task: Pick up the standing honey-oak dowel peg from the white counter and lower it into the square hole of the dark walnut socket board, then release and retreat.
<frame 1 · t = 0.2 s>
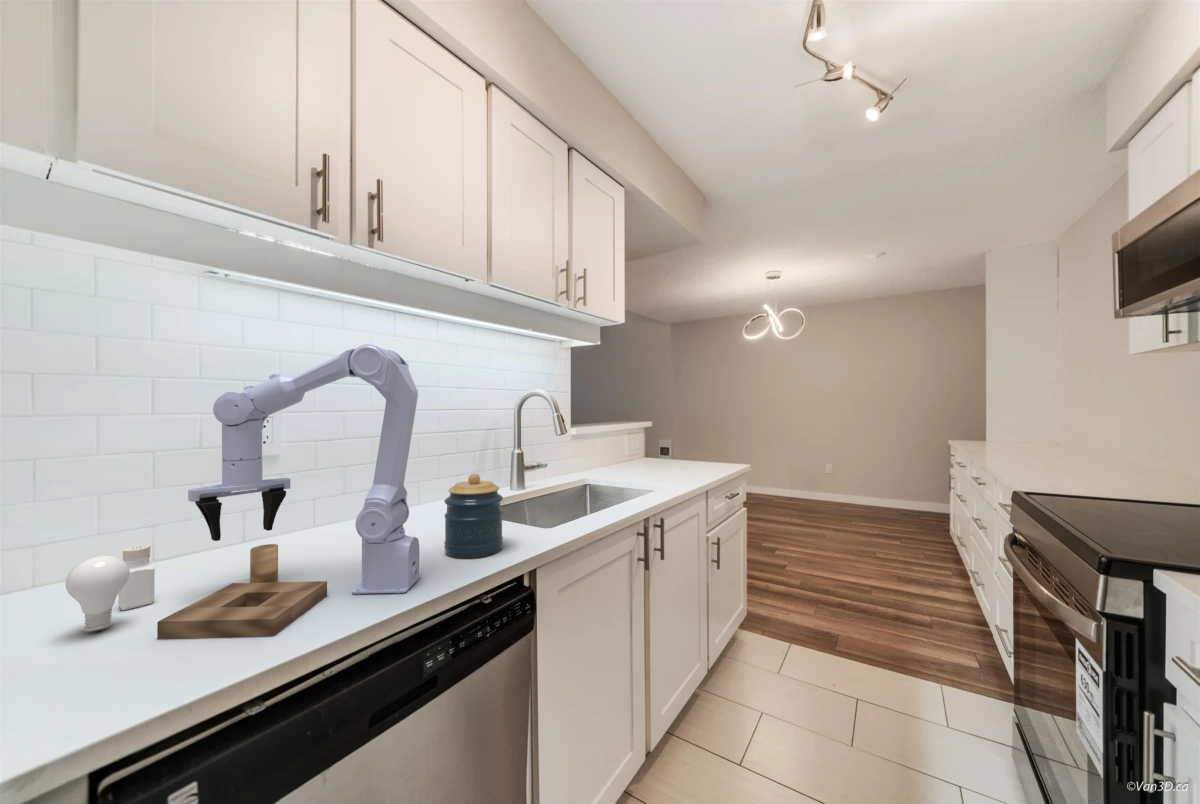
hand: (242, 534, 82), 10 cm above the counter, fingers open, 7 cm apart
salt shaker: (136, 605, 76), on the counter
canister: (474, 551, 104), on the counter
lightbulb: (98, 632, 67), on the counter
peg: (264, 592, 81), on the counter
socket board: (251, 615, 72), on the counter
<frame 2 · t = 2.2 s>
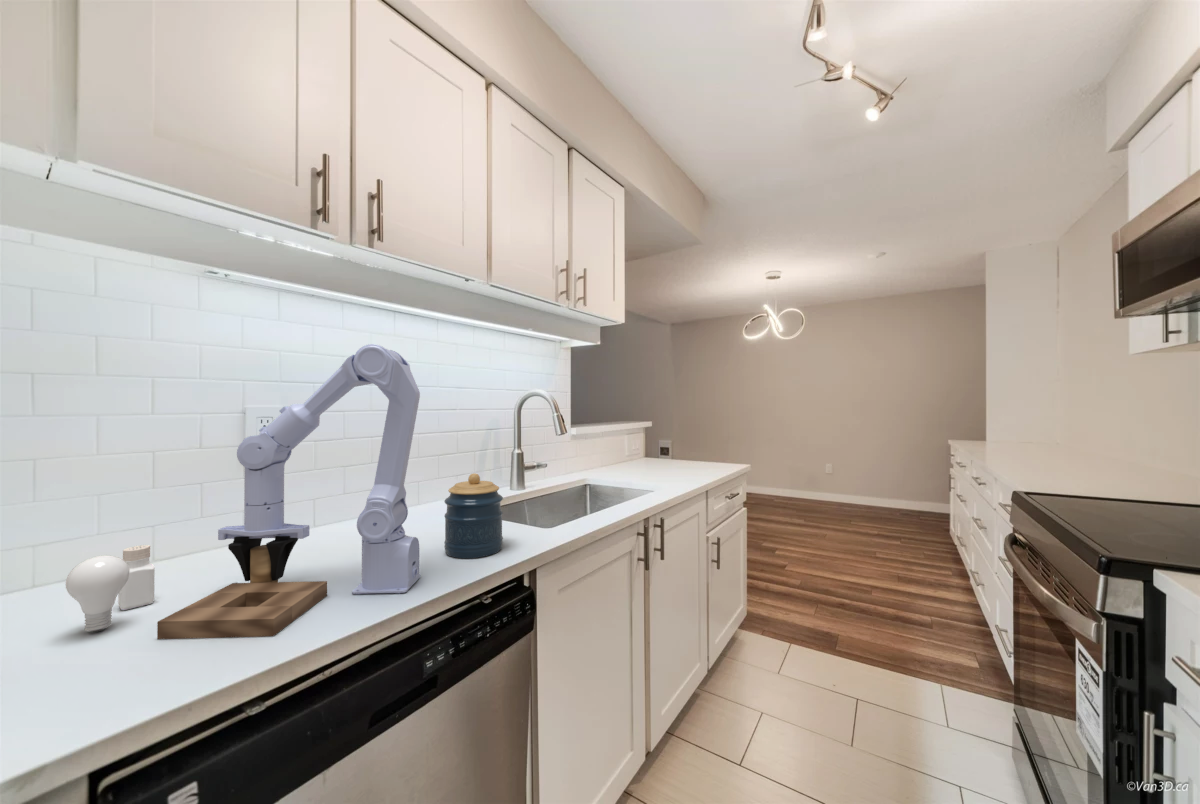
hand: (264, 578, 81), 2 cm above the counter, fingers closed on peg, 4 cm apart
peg: (264, 592, 81), on the counter, touching gripper
everything else where it was.
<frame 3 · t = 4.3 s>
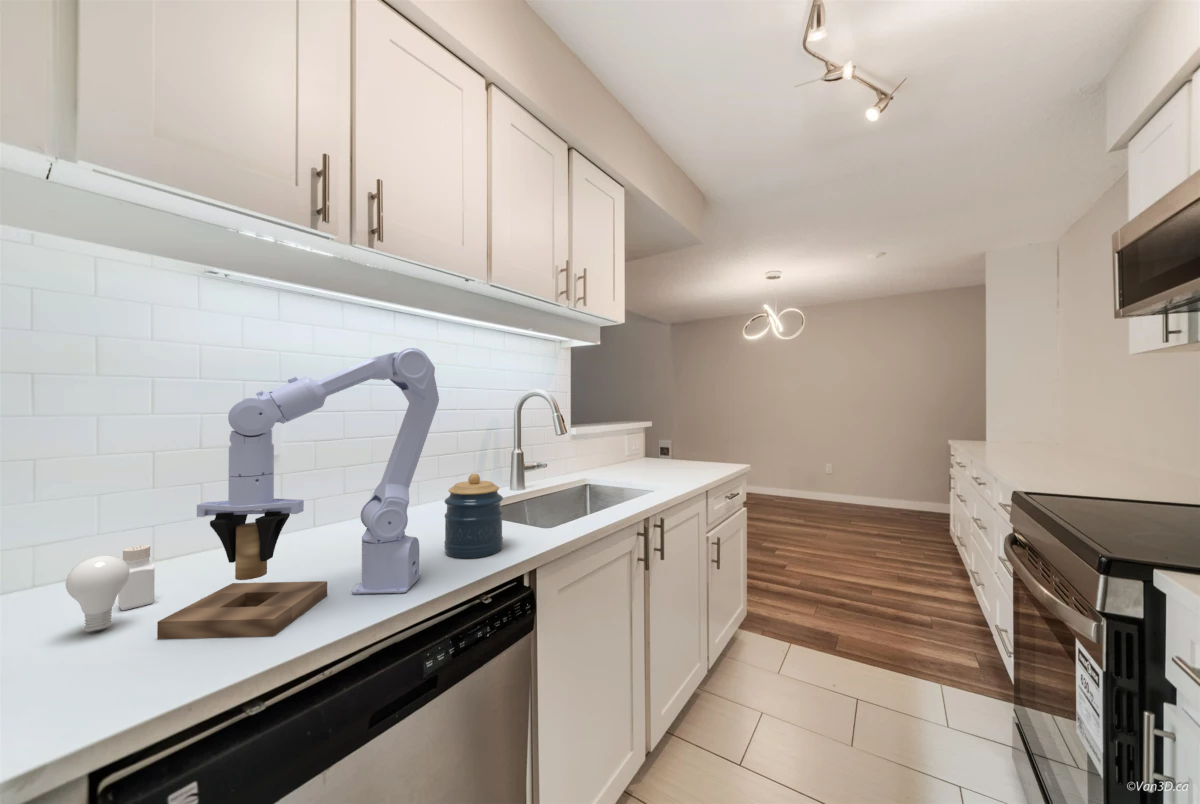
hand: (251, 559, 72), 9 cm above the counter, fingers closed on peg, 4 cm apart
peg: (251, 575, 72), point 6 cm above the counter, touching gripper
everything else where it was.
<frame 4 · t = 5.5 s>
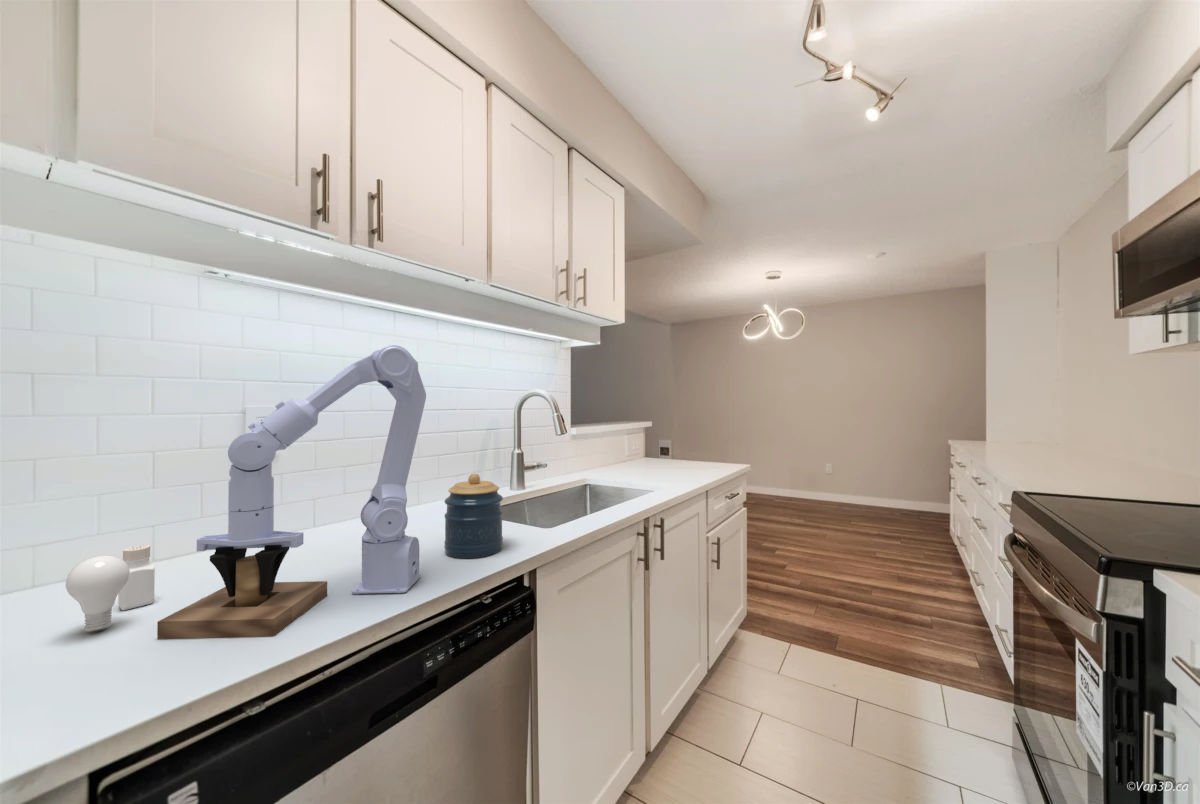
hand: (251, 593, 72), 3 cm above the counter, fingers closed on peg, 4 cm apart
peg: (251, 609, 72), point 1 cm above the counter, touching gripper
everything else where it was.
when the fingers open (3 cm above the counter, at t = 6.2 s): peg stays where it is, resting in socket board.
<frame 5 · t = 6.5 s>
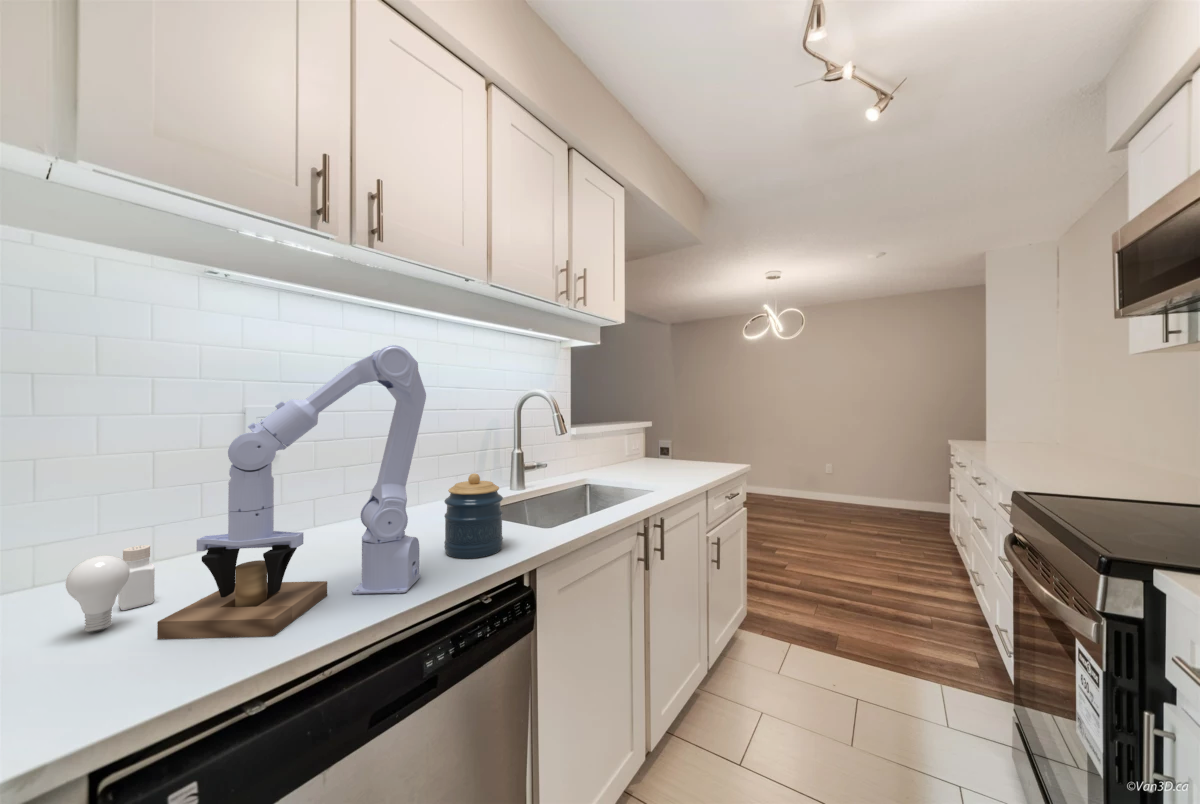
hand: (251, 593, 72), 3 cm above the counter, fingers open, 6 cm apart
peg: (251, 615, 72), resting in socket board
everything else where it was.
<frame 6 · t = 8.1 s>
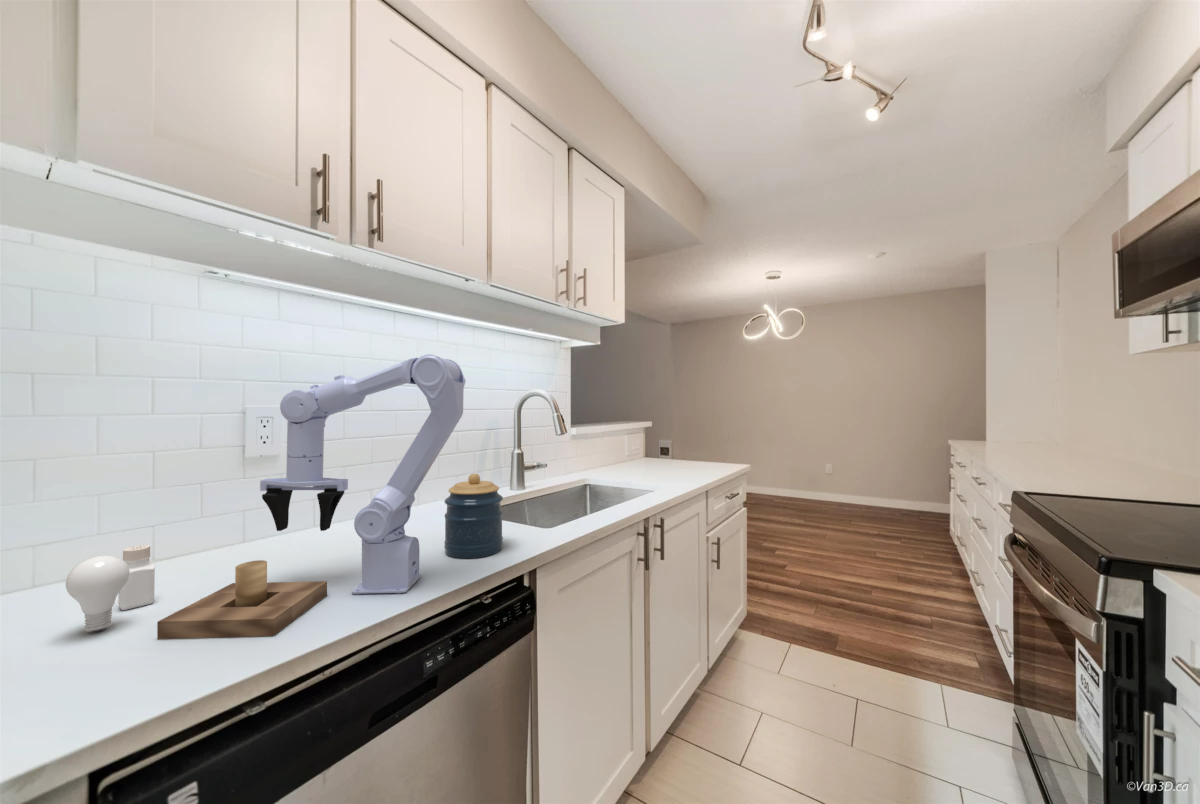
hand: (303, 529, 84), 10 cm above the counter, fingers open, 7 cm apart
nothing on the counter moved.
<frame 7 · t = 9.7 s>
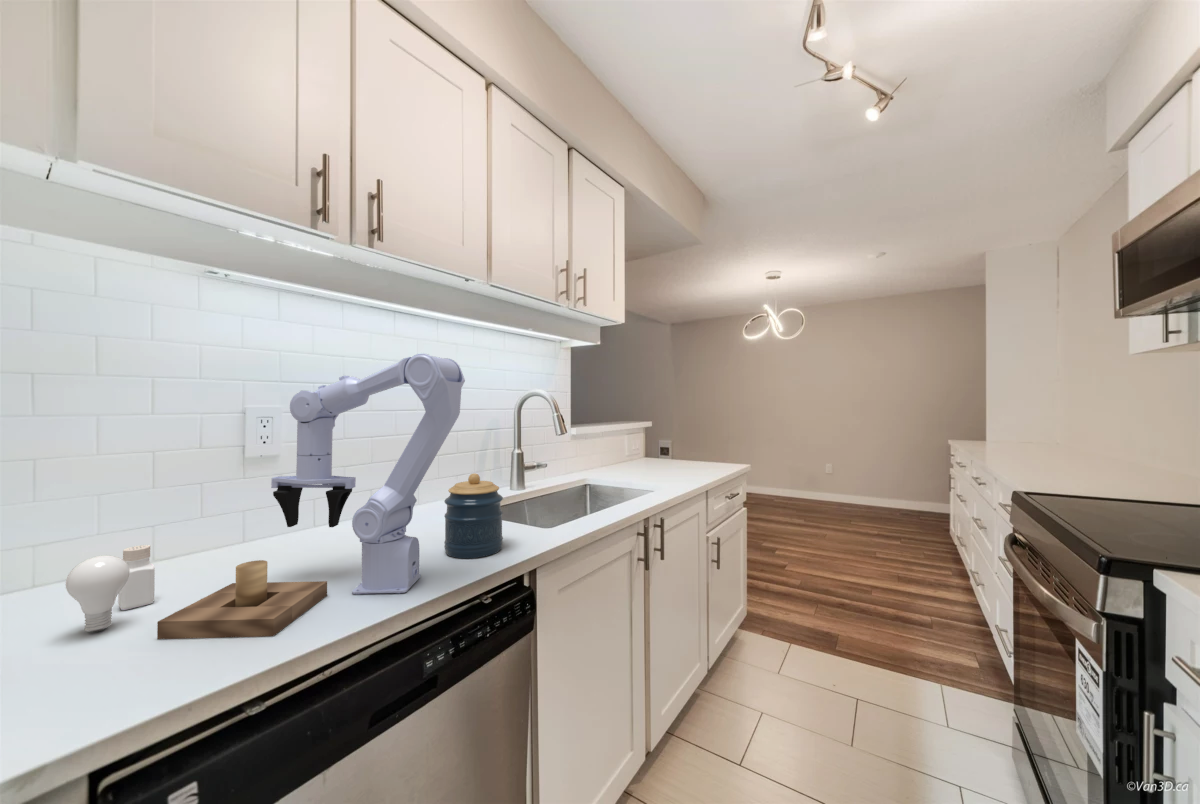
hand: (313, 525, 86), 10 cm above the counter, fingers open, 7 cm apart
nothing on the counter moved.
at the end: peg 0.1 cm off-centre on the socket board, point 0.0 cm above the socket board's base; peg tilted 0°; the gripper is holding nothing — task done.
